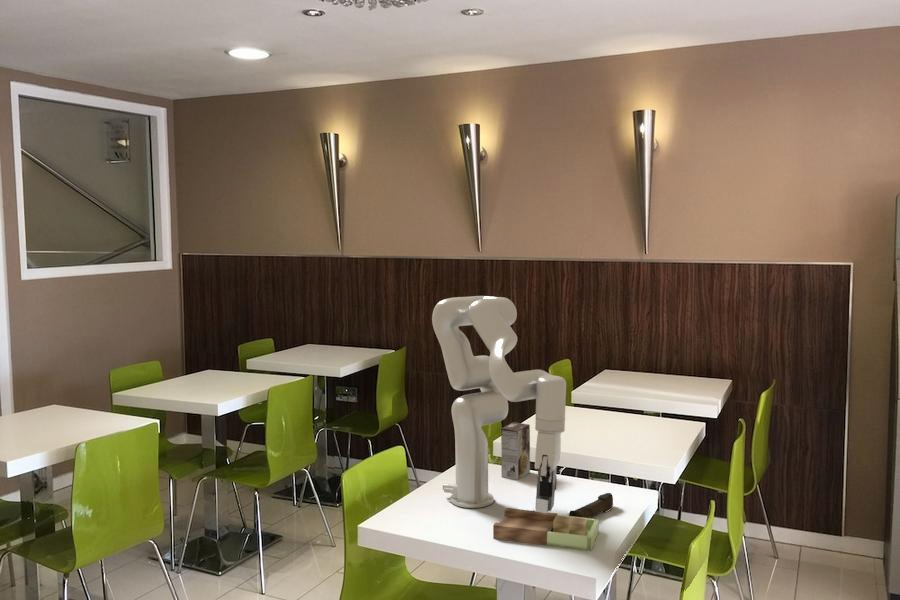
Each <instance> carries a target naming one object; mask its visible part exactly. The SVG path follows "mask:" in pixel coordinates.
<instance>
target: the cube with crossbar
mask: <svg viewBox="0 0 900 600" xmlns="http://www.w3.org/2000/svg"><path fill="white" fill-rule="evenodd" d="M557 468H558V465H557V466H556V468H555V469H554V470H553V471H552V482H553V491H552V497H545V496H540V476H541V466H540V468H539V469H538V470H537V478H536V479H537V480H536V481H537V482H536V496H535V508H534V509H535V511H536V512H541V513H546V514H547V513H549V512H552V509H553V508H554V505H555V496H556V495H555V494H556V490H555V483H556V484H557V477H556V476H557ZM547 469H550V468H549V467H547ZM547 474H549V472H547Z"/></svg>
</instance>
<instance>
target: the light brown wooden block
mask: <svg viewBox="0 0 900 600" xmlns="http://www.w3.org/2000/svg"><path fill="white" fill-rule="evenodd" d="M569 534H575V535H583V536H587V519H582V518H574V517H572V518H571V520H570V522H569Z"/></svg>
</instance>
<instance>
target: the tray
mask: <svg viewBox="0 0 900 600" xmlns="http://www.w3.org/2000/svg"><path fill="white" fill-rule="evenodd" d="M557 516H565V517H573V516H569V515H565V514H563V515H562V514H557ZM574 518H582V517H574ZM582 519H587V536H583V535H575V534H567V533H559V532H550V531H548V532H547V545H546V546H552V547H559V548H560V547H561V548H565V549H566V548H567V549H569V548H570V549H574V550H582V551H583V550H584V551H592V549H593V546H594V544H595V542H596V540H595V539H597V537H598V535H599V532H600V519H597V518H592V517H590V518H582ZM597 534H598V535H597Z"/></svg>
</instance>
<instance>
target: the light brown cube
mask: <svg viewBox="0 0 900 600" xmlns="http://www.w3.org/2000/svg"><path fill="white" fill-rule="evenodd" d="M565 516H566V515H565ZM565 516H556V517H555V519H554V521H553V532H559V533H567V534H569V522H570V520H571V518H572V517H565Z"/></svg>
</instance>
